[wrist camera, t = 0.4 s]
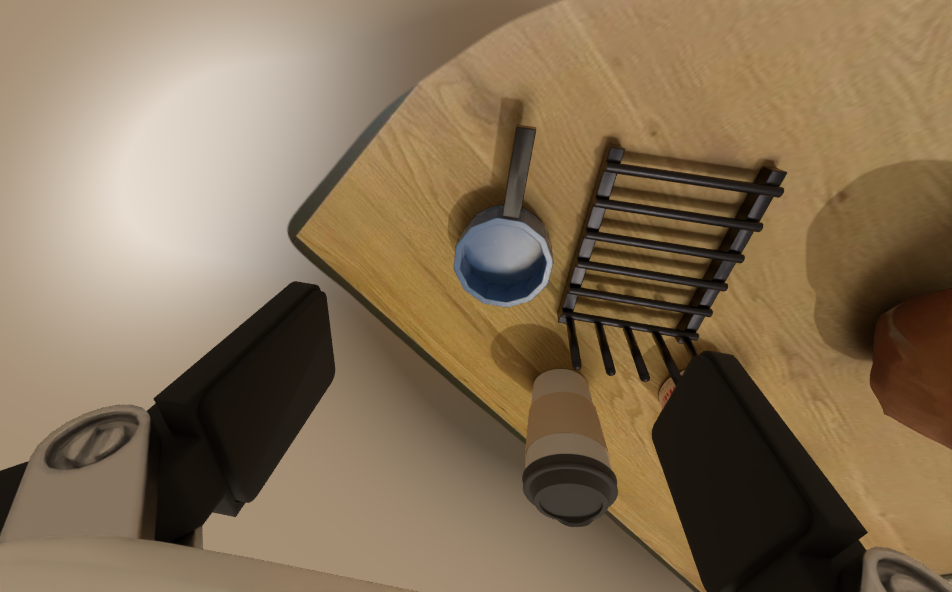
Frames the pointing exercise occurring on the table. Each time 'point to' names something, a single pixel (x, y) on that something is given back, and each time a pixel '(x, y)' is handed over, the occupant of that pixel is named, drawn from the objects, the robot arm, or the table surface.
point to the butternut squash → (916, 364)
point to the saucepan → (506, 241)
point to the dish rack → (707, 287)
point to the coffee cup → (566, 452)
